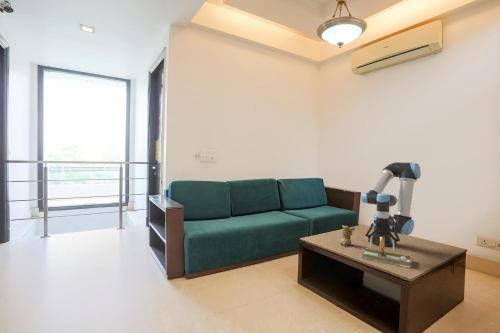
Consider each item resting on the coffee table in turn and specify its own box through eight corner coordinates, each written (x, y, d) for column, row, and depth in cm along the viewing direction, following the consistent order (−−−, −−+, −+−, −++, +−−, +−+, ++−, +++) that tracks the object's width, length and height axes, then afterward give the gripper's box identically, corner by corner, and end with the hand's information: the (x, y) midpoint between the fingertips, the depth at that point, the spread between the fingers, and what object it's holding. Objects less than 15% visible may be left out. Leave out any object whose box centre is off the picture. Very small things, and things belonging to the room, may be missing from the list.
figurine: (350, 242, 208) (351, 223, 207) (355, 246, 200) (355, 226, 199) (338, 242, 208) (338, 223, 207) (342, 246, 199) (342, 226, 199)
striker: (378, 254, 180) (379, 235, 179) (386, 255, 177) (387, 236, 177) (377, 257, 175) (378, 237, 174) (385, 258, 172) (386, 238, 172)
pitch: (365, 252, 188) (365, 247, 187) (412, 261, 172) (412, 255, 172) (362, 258, 177) (362, 252, 176) (411, 268, 161) (411, 262, 161)
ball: (405, 261, 170) (399, 259, 172) (407, 256, 170) (400, 254, 172) (405, 263, 167) (399, 261, 169) (406, 258, 167) (400, 256, 169)
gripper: (361, 216, 179) (360, 247, 180) (404, 221, 165) (403, 254, 166) (363, 213, 185) (362, 244, 186) (404, 218, 171) (404, 251, 172)
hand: (382, 249), depth 176 cm, fingers open, 13 cm apart
